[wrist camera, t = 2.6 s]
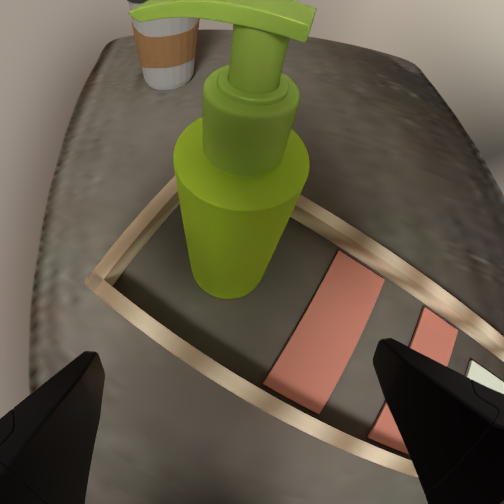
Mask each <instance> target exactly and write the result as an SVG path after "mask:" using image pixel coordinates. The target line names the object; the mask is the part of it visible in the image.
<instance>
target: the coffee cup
mask: <svg viewBox="0 0 504 504" xmlns="http://www.w3.org/2000/svg"><path fill="white" fill-rule="evenodd" d="M128 1H129V6H130V11H131V10H133V9H135V8H136V7H138V6H139V5H141V4H143V3H144V2H146V1H147V0H128ZM131 17H132V16H131ZM199 19H200V18H182V17H181V18H164V19H156V20H151V21H145V22H138V21H137V20H135V19H134V18H133V17H132V27H133V31H134V37H135V41H136V46H137V51H138V55H139V60H140V65H141V66H142V70H143V75H144V79H145V81H146V83H148V85H149V86H150V87H152V88H154V89H158V90H170V89H175V88H179V87H181V86H183V85H185V84H186V83H188V82H189V80H190V79H191V77H192V76H193V73H194V62H195V57H196V47H197V37H198V27H199Z"/></svg>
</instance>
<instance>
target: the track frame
mask: <svg viewBox="0 0 504 504" xmlns="http://www.w3.org/2000/svg"><path fill="white" fill-rule="evenodd" d="M179 204H180V202H179V196H178V189H177V183H176V176H174V177H173V178H172V179H171V180H170V181H169V182H168V183H167V184H166V185H165V186H164V188H163V189H162V190H161V191H160V192H159V193H158V194H157V195H156V196H155V197H154V198H153V199H152V201H151V202H150V203H149V204H148V205H147V206H146V207H145V208H144V209H143V211H142V212H141V213H140V214H139V215H138V216H137V217H136V219H135V220H134V221H133V222H132V223H131V224H130V226H129V227H128V228H127V229H126V230H125V231H124V233H123V234H122V235H121V236H120V237H119V239H118V240H117V241H116V242H115V243H114V245H113V246H112V247H111V248H110V250H109V251H108V252H107V253H106V254H105V256H104V257H103V258H102V260H101V261H100V262H99V263H98V265H97V266H96V267H95V268H94V270H93V271H92V272H91V274H90V275H89V276H88V278H87V279H86V280H85V282H84V284H86V285H87V286H88V287H89V288H90V289H91V290H92V291H94V292H95V293H96V294H97V295H98V296H99V297H101V298H102V299H103V300H104V301H105V302H106V303H108V304H109V305H110V306H111V307H112V308H114V309H115V310H116V311H117V312H119V313H120V314H121V315H122V316H124V317H125V318H126V319H127V320H129V321H130V322H131V323H132V324H134V325H135V326H136V327H138V328H139V329H140V330H141V331H143V332H144V333H145V334H147V335H148V336H149V337H151V338H152V339H153V340H155V341H156V342H157V343H159V344H160V345H162V346H163V347H164V348H166V349H167V350H168V351H170V352H171V353H173V354H174V355H176V356H177V357H178V358H180V359H181V360H183V361H184V362H186V363H187V364H189V365H190V366H192V367H193V368H195V369H196V370H198V371H199V372H201V373H202V374H204V375H205V376H207V377H208V378H210V379H211V380H213V381H215V382H216V383H218V384H219V385H221V386H223V387H224V388H226V389H228V390H229V391H231V392H232V393H234V394H236V395H237V396H239V397H241V398H243V399H244V400H246V401H248V402H249V403H251V404H253V405H255V406H256V407H258V408H260V409H262V410H264V411H265V412H267V413H269V414H271V415H273V416H275V417H276V418H278V419H280V420H282V421H284V422H286V423H288V424H290V425H292V426H294V427H296V428H298V429H300V430H302V431H304V432H306V433H308V434H310V435H312V436H314V437H316V438H318V439H320V440H323V441H325V442H327V443H329V444H331V445H334V446H336V447H338V448H340V449H343V450H345V451H347V452H350V453H352V454H354V455H357V456H359V457H362V458H364V459H367V460H369V461H372V462H375V463H377V464H380V465H383V466H385V467H388V468H391V469H394V470H397V471H399V472H402V473H405V474H408V475H412V476H415V477H418V475H417V473H416V470H415V468H414V465H413V463H412V461H411V460H409V459H406V458H403V457H401V456H398V455H395V454H393V453H390V452H388V451H385V450H383V449H380V448H378V447H376V446H373V445H371V444H369V443H366V442H364V441H362V440H359V439H357V438H355V437H353V436H351V435H348V434H346V433H344V432H342V431H340V430H338V429H336V428H333V427H331V426H329V425H327V424H325V423H323V422H321V421H319V420H317V419H315V418H313V417H311V416H309V415H307V414H305V413H303V412H302V411H300V410H298V409H296V408H294V407H292V406H290V405H288V404H287V403H285V402H283V401H281V400H279V399H277V398H276V397H274V396H272V395H270V394H269V393H267V392H265V391H263V390H262V389H260V388H258V387H256V386H255V385H253V384H251V383H250V382H248V381H246V380H245V379H243V378H241V377H240V376H238V375H236V374H235V373H233V372H231V371H230V370H228V369H227V368H225V367H224V366H222V365H220V364H219V363H217V362H216V361H214V360H213V359H211V358H209V357H208V356H206V355H205V354H203V353H202V352H200V351H199V350H197V349H196V348H194V347H193V346H191V345H190V344H189V343H187V342H186V341H184V340H183V339H181V338H180V337H178V336H177V335H176V334H174V333H173V332H171V331H170V330H168V329H167V328H166V327H164V326H163V325H162V324H160V323H159V322H157V321H156V320H155V319H153V318H152V317H151V316H149V315H148V314H147V313H145V312H144V311H143V310H141V309H140V308H139V307H137V306H136V305H135V304H134V303H132V302H131V301H130V300H128V299H127V298H126V297H125V296H123V295H122V294H121V293H120V292H118V291H117V290H116V289H115V288H113V287H112V286H113V285H114V283H115V282H116V281H117V279H118V278H119V277H120V275H121V274H122V273H123V272H124V270H125V269H126V268H127V266H128V265H129V264H130V263H131V261H132V260H133V259H134V258H135V256H136V255H137V254H138V253H139V251H140V250H141V249H142V248H143V246H144V245H145V244H146V243H147V241H148V240H149V239H150V238H151V237H152V235H153V234H154V233H155V232H156V231H157V229H158V228H159V227H160V226H161V225H162V223H163V222H164V221H165V220H166V219H167V218H168V216H169V215H170V214H171V213H172V212H173V211H174V209H175V208H176V207H177V206H178V205H179ZM290 217H291V218H293V219H295V220H296V221H298V222H300V223H301V224H303V225H305V226H306V227H308V228H309V229H311V230H313V231H314V232H316V233H318V234H319V235H321V236H322V237H324V238H326V239H327V240H329V241H330V242H332V243H334V244H335V245H337V246H338V247H340V248H342V249H343V250H345V251H346V252H348V253H349V254H351V255H353V256H354V257H356V258H357V259H359V260H360V261H362V262H363V263H365V264H367V265H368V266H370V267H371V268H373V269H374V270H376V271H377V272H379V273H380V274H382V275H383V276H385V277H386V278H388V279H389V280H391V281H392V282H394V283H395V284H397V285H398V286H400V287H401V288H403V289H404V290H406V291H407V292H409V293H410V294H411V295H413V296H414V297H416V298H417V299H419V300H420V301H422V302H423V303H425V304H426V305H427V306H429V307H430V308H432V309H433V310H434V311H436V312H437V313H439V314H440V315H442V316H443V317H444V318H446V319H447V320H449V321H450V322H451V323H453V324H454V325H455V326H457V327H458V328H460V329H461V330H462V331H464V332H465V333H466V334H468V335H469V336H470V337H472V338H473V339H475V340H476V341H477V342H479V343H480V344H481V345H483V346H484V347H485V348H486V349H488V350H489V351H490V352H492V353H493V354H494V355H496V356H497V357H498V358H500V359H501V360H502V361H503V362H504V337H503V336H502V335H501V334H500V333H499V332H497V331H496V330H495V329H494V328H492V327H491V326H490V325H489V324H488V323H486V322H485V321H484V320H483V319H481V318H480V317H479V316H478V315H476V314H475V313H474V312H473V311H471V310H470V309H469V308H468V307H466V306H465V305H464V304H462V303H461V302H460V301H459V300H457V299H456V298H455V297H453V296H452V295H451V294H449V293H448V292H447V291H445V290H444V289H443V288H441V287H440V286H439V285H437V284H436V283H435V282H433V281H432V280H430V279H429V278H428V277H426V276H425V275H423V274H422V273H421V272H419V271H418V270H416V269H415V268H414V267H412V266H411V265H409V264H408V263H407V262H405V261H404V260H402V259H401V258H399V257H398V256H396V255H395V254H393V253H392V252H391V251H389V250H388V249H386V248H385V247H383V246H382V245H380V244H379V243H377V242H376V241H374V240H373V239H371V238H370V237H368V236H367V235H365V234H363V233H362V232H360V231H359V230H357V229H356V228H354V227H353V226H351V225H349V224H348V223H346V222H345V221H343V220H342V219H340V218H338V217H337V216H335V215H334V214H332V213H330V212H329V211H327V210H325V209H324V208H322V207H320V206H319V205H317V204H316V203H314V202H312V201H311V200H309V199H307V198H305V197H304V196H302V195H300V196H299V198H298V200H297V202H296V205H295V207H294V209H293V211H292V214H291V216H290Z"/></svg>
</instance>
